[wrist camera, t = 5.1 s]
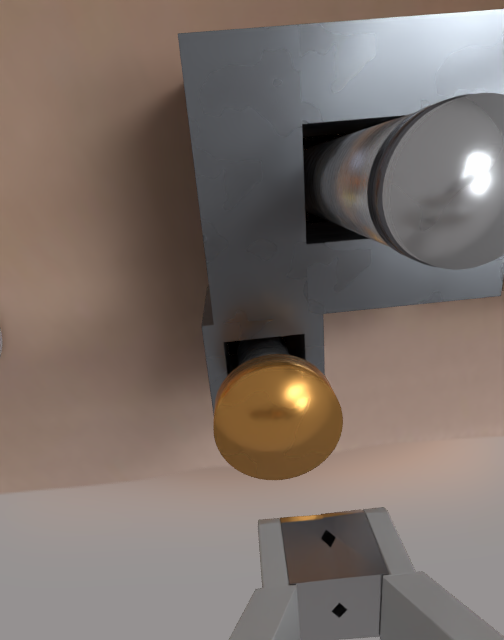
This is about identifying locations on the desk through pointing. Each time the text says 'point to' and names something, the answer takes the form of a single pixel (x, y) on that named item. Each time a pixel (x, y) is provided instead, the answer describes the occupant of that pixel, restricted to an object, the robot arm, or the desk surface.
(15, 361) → the desk surface
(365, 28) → the socket block
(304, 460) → the gold knob
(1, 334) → the supplement bottle
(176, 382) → the desk surface
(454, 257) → the cylindrical peg
